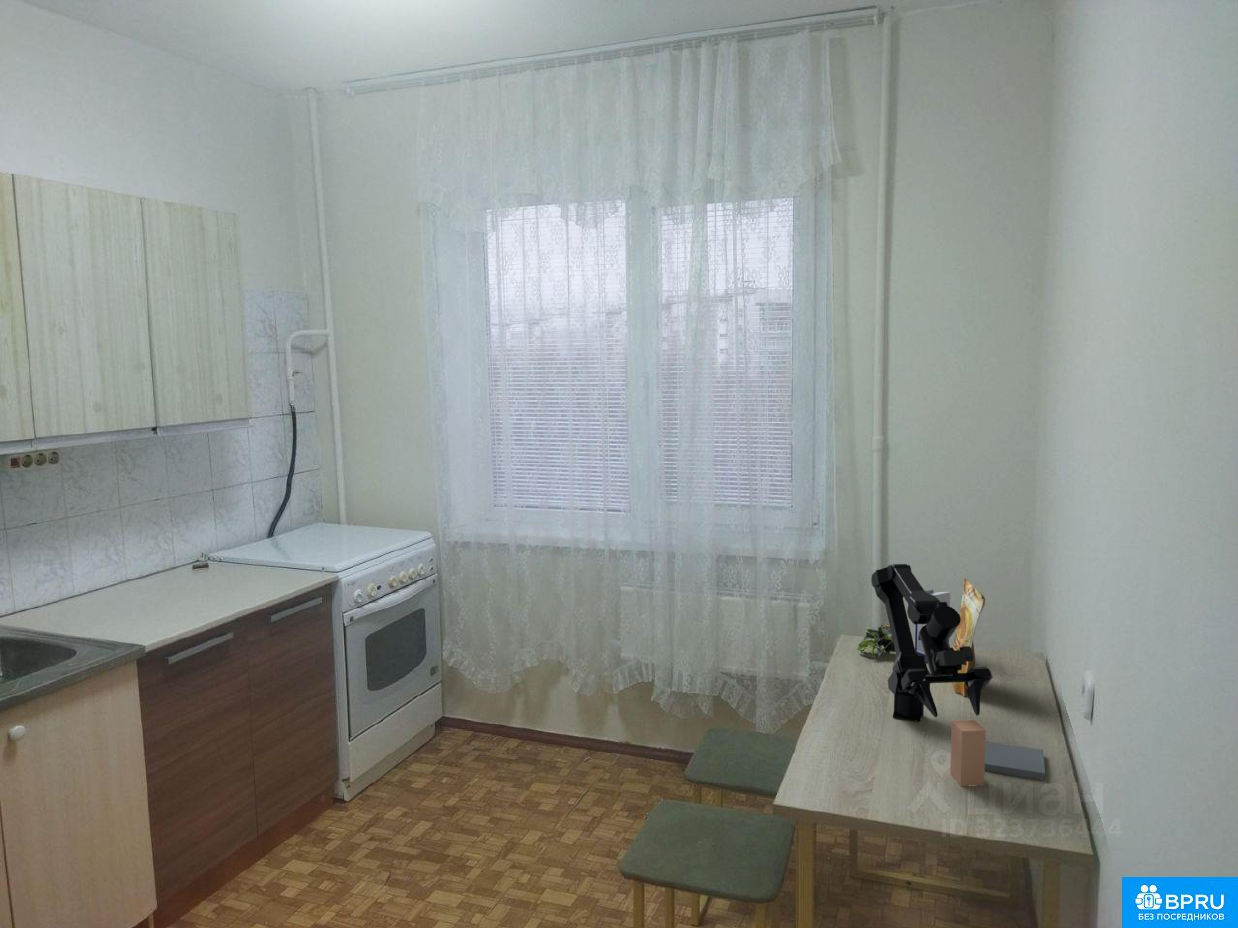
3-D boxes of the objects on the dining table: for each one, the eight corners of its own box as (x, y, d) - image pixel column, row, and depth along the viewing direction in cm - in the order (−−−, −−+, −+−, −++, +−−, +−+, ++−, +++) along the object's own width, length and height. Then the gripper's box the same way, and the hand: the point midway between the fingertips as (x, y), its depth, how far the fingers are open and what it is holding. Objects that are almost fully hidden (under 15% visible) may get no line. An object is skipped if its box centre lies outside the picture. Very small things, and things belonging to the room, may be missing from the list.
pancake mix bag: (972, 674, 242) (975, 576, 239) (982, 700, 224) (986, 595, 221) (946, 672, 244) (949, 575, 241) (955, 698, 226) (958, 593, 222)
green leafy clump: (886, 670, 262) (911, 641, 258) (877, 674, 252) (903, 644, 249) (857, 644, 267) (882, 615, 264) (847, 647, 257) (872, 617, 254)
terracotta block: (950, 774, 184) (951, 721, 183) (973, 773, 185) (974, 720, 183) (960, 786, 179) (962, 731, 178) (984, 785, 180) (985, 730, 178)
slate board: (983, 769, 186) (983, 763, 186) (984, 746, 197) (984, 740, 197) (1044, 780, 181) (1045, 773, 181) (1042, 755, 192) (1043, 749, 192)
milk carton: (931, 660, 253) (933, 594, 251) (914, 654, 259) (915, 589, 257) (949, 656, 257) (950, 591, 254) (931, 650, 263) (933, 586, 260)
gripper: (906, 634, 189) (926, 701, 179) (990, 631, 190) (1013, 698, 180) (893, 656, 198) (910, 722, 188) (972, 654, 199) (994, 719, 189)
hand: (957, 715), depth 186 cm, fingers open, 9 cm apart
